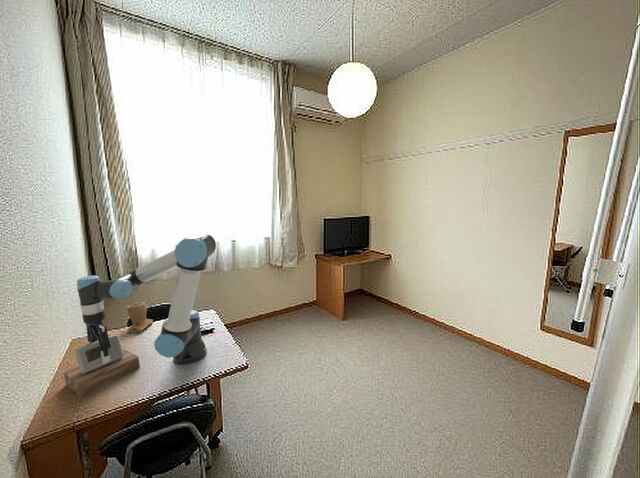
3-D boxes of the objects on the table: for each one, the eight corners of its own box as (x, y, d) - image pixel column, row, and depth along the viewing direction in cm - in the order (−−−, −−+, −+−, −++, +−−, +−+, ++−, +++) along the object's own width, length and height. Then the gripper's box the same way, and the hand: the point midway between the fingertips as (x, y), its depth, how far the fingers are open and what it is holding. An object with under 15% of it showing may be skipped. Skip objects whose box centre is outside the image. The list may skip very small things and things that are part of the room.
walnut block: (139, 368, 131) (138, 356, 130) (82, 398, 112) (80, 384, 111) (122, 358, 139) (120, 347, 138) (66, 385, 120) (63, 372, 119)
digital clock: (79, 376, 116) (75, 352, 114) (77, 368, 122) (73, 345, 121) (126, 359, 127) (122, 337, 126) (121, 353, 133) (118, 331, 132)
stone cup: (136, 322, 179) (133, 299, 176) (156, 321, 179) (153, 299, 176) (121, 334, 164) (117, 310, 161) (142, 333, 164) (139, 309, 162)
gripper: (115, 313, 118) (123, 361, 122) (92, 304, 129) (100, 349, 133) (94, 320, 112) (103, 371, 116) (72, 310, 123) (81, 357, 126)
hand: (101, 359), depth 124 cm, fingers open, 8 cm apart
